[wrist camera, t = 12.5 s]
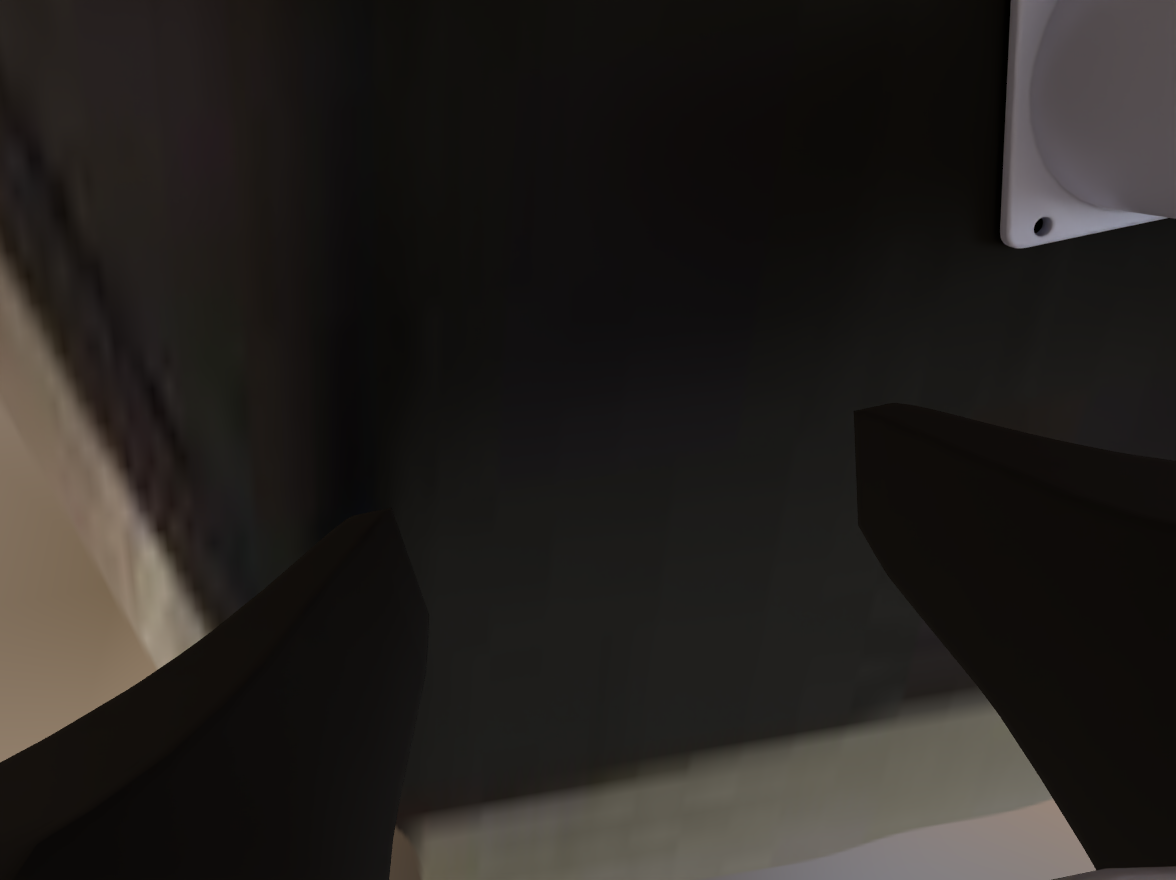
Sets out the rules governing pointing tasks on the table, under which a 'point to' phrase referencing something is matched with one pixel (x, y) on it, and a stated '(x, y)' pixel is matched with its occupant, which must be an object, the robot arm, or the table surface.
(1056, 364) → the table surface
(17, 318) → the table surface
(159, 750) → the robot arm
